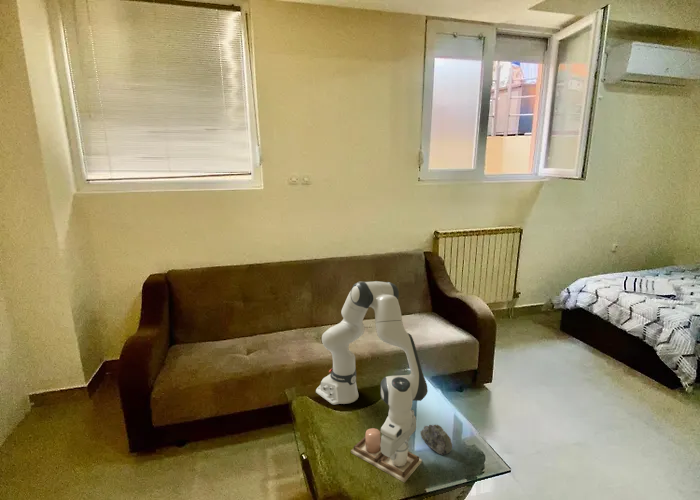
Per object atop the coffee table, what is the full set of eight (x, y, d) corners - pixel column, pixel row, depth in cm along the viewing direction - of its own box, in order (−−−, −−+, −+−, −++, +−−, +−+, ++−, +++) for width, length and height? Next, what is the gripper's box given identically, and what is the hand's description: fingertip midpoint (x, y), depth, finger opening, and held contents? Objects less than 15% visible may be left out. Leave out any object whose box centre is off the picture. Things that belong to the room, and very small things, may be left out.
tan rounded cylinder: (362, 449, 159) (362, 433, 157) (371, 441, 163) (371, 426, 162) (374, 455, 155) (374, 440, 154) (383, 447, 160) (383, 432, 158)
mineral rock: (419, 435, 168) (420, 414, 166) (443, 433, 169) (444, 413, 167) (427, 457, 156) (428, 434, 153) (454, 455, 156) (455, 433, 154)
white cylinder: (408, 468, 148) (408, 452, 146) (389, 466, 149) (390, 450, 147) (408, 455, 154) (408, 440, 153) (390, 453, 155) (390, 438, 154)
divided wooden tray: (350, 452, 158) (350, 447, 158) (369, 435, 168) (369, 430, 168) (404, 482, 143) (404, 476, 142) (421, 462, 153) (421, 456, 152)
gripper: (406, 404, 158) (405, 434, 161) (377, 431, 142) (377, 464, 145) (420, 410, 154) (419, 441, 157) (392, 438, 138) (392, 472, 141)
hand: (399, 452), depth 151 cm, fingers open, 7 cm apart
